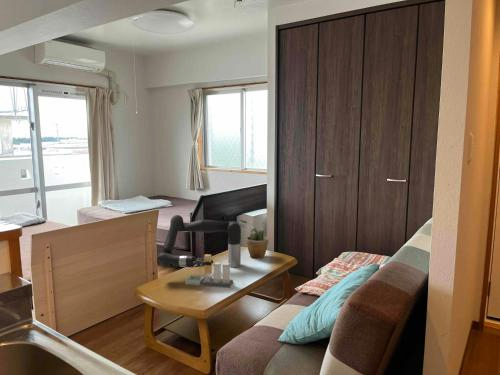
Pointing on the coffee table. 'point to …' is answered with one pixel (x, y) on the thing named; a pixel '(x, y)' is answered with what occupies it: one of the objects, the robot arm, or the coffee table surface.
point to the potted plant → (257, 243)
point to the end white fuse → (226, 271)
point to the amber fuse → (208, 267)
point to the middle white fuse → (217, 271)
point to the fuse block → (216, 282)
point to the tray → (194, 280)
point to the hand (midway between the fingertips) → (212, 262)
